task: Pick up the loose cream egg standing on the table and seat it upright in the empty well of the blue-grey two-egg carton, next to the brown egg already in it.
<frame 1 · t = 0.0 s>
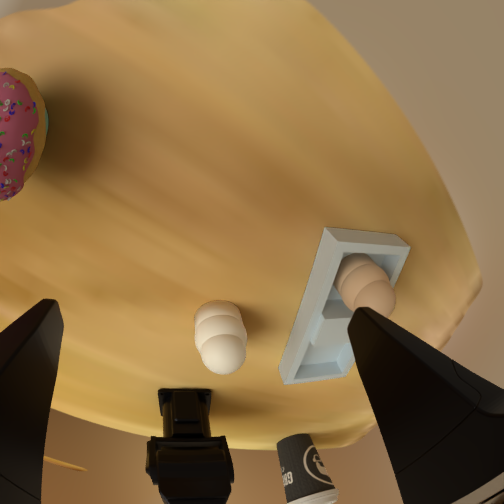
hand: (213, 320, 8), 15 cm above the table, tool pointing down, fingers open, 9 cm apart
cream egg: (217, 318, 28), on the table
coffee cup: (292, 440, 48), on the table
brown egg: (352, 272, 27), point 1 cm above the table, touching egg carton
egg carton: (334, 309, 30), on the table
cupcake: (24, 124, 15), on the table
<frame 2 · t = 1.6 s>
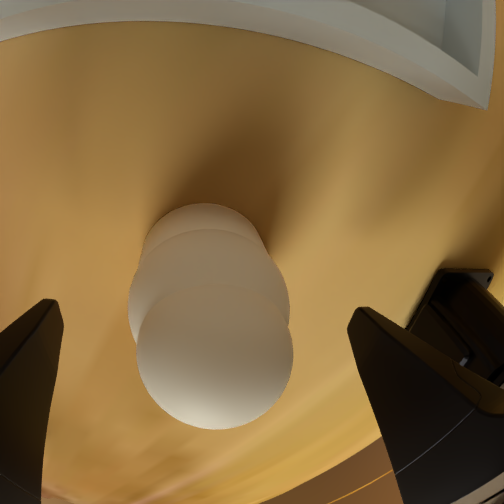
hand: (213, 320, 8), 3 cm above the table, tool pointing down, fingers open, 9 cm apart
cream egg: (202, 261, 11), on the table
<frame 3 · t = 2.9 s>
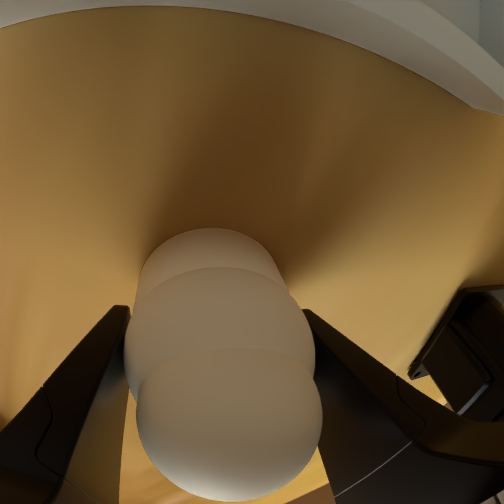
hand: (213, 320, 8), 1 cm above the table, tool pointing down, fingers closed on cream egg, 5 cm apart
cream egg: (209, 292, 9), on the table, touching gripper
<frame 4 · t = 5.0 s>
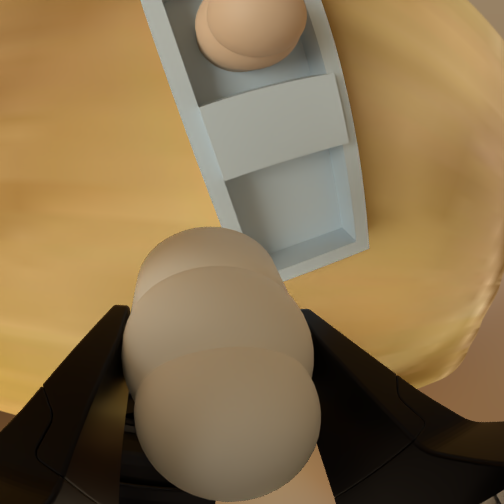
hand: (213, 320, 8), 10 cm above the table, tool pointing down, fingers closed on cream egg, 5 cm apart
cream egg: (208, 292, 9), point 9 cm above the table, touching gripper
brown egg: (239, 34, 12), point 1 cm above the table, touching egg carton
egg carton: (262, 117, 15), on the table
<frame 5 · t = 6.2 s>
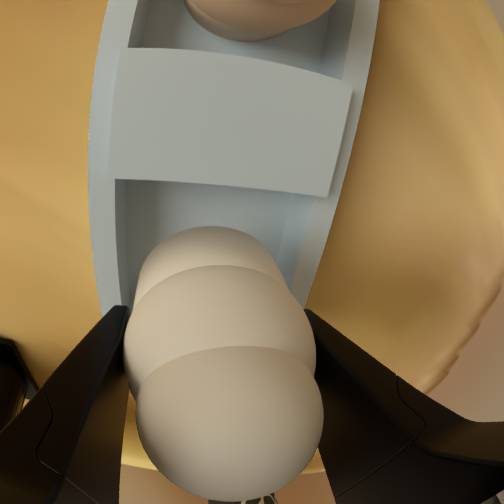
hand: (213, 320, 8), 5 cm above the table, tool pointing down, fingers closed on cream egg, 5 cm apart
cream egg: (209, 291, 9), point 4 cm above the table, touching gripper
coffee cup: (234, 464, 28), on the table
egg carton: (220, 113, 10), on the table
when the fingers open (4 cm above the table, at t = 7.3 s): cream egg drops 2 cm, resting on egg carton.
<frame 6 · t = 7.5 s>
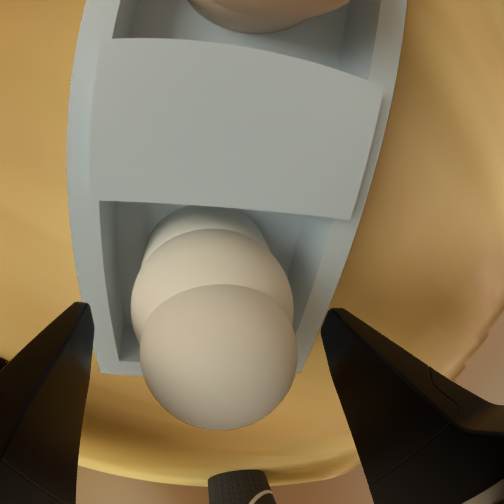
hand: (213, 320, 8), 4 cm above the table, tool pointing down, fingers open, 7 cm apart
cream egg: (205, 261, 11), point 1 cm above the table, touching egg carton
coffee cup: (236, 476, 26), on the table
egg carton: (223, 117, 9), on the table
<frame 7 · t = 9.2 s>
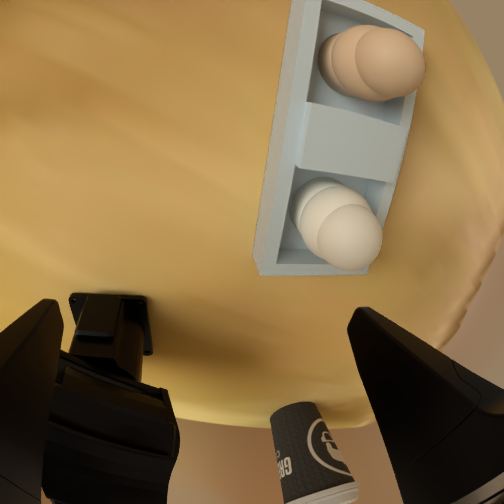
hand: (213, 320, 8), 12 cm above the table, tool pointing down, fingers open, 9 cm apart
cream egg: (320, 207, 20), point 1 cm above the table, touching egg carton
coffee cup: (293, 413, 36), on the table
brown egg: (349, 64, 15), point 1 cm above the table, touching egg carton
egg carton: (332, 135, 18), on the table
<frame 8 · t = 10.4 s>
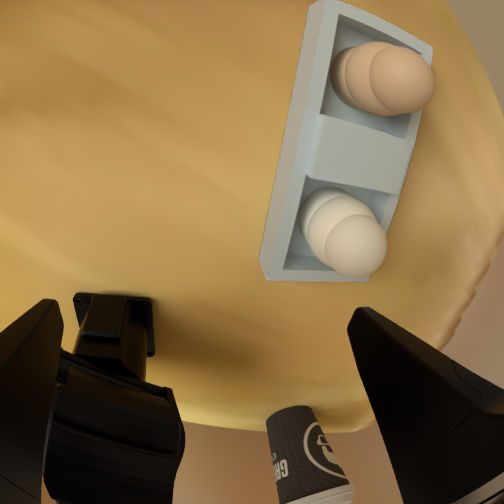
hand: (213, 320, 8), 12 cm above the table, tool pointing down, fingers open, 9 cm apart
cream egg: (326, 215, 20), point 1 cm above the table, touching egg carton
coffee cup: (288, 416, 36), on the table
brown egg: (360, 78, 16), point 1 cm above the table, touching egg carton
egg carton: (340, 146, 19), on the table
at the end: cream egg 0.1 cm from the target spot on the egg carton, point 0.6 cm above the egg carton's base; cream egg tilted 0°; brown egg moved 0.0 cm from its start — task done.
